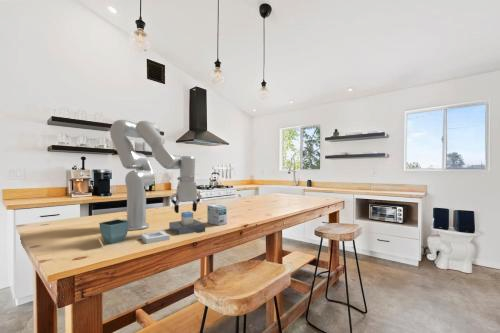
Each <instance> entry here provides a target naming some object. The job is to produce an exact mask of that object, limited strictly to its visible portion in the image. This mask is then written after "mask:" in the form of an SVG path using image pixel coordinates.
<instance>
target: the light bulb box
mask: <svg viewBox="0 0 500 333" xmlns="http://www.w3.org/2000/svg"><path fill="white" fill-rule="evenodd" d="M206 212H207V218H206V219H207V224H210V225H211V224H212V225H216V226H222V225H227V224H228V206H227V205H222V204H216V203H215V204H208V205H207V211H206Z"/></svg>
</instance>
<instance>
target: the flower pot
mask: <svg viewBox="0 0 500 333" xmlns="http://www.w3.org/2000/svg"><path fill="white" fill-rule="evenodd" d="M98 225H99V231H100V235H101V237H102V239H103V241H104V242H105V243H107V244H111V245H113V244H117V243H121V242H123V241H125V239H126V237H127V235H128V231H129V230H128V225H129V222H128V221H123V220H122V219H112V220H108V221H103V222H99V224H98Z"/></svg>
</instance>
